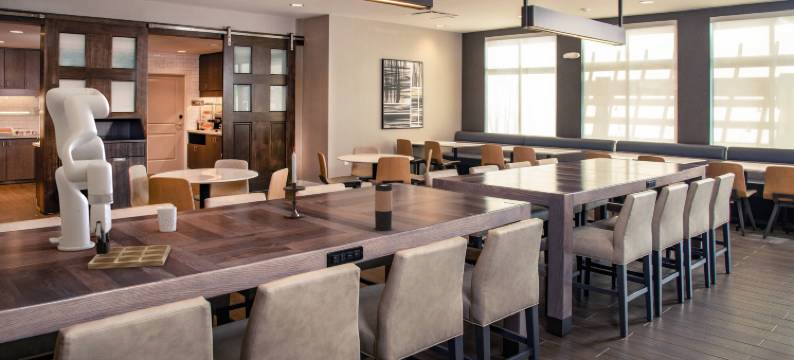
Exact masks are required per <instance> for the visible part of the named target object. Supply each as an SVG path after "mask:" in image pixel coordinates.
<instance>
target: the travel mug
mask: <svg viewBox="0 0 794 360" xmlns="http://www.w3.org/2000/svg"><path fill="white" fill-rule="evenodd" d="M374 223H375V226H374V227H375V228H374V229H375V231H379V232H387V231H388V232H389V231H391V230H392V229H393V228H392V226H393V184H392V183H389V184H386V183H375V186H374Z"/></svg>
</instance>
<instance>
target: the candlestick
mask: <svg viewBox="0 0 794 360" xmlns="http://www.w3.org/2000/svg"><path fill="white" fill-rule="evenodd" d="M295 150H296V145H294V146H293V148H292V154H291V181H290V182H289V183H291V185H288V186H283V187H282V190H283V191H285V192H291V194H292V200H291V204H292V206H291V208H292V212H291V213H287V214H285V215H284V217H285V219H290V220H291V219H292V220H293V219H294V220H295V219H296V220H297V219H303V218H305V214H304V213H298V212H297V207H298V206H297V204H298V200H297V193H298V192H303V191H306V189H307V188H306V186H302V185H297V183H299V182H298V181H297V154H296V151H295Z"/></svg>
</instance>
